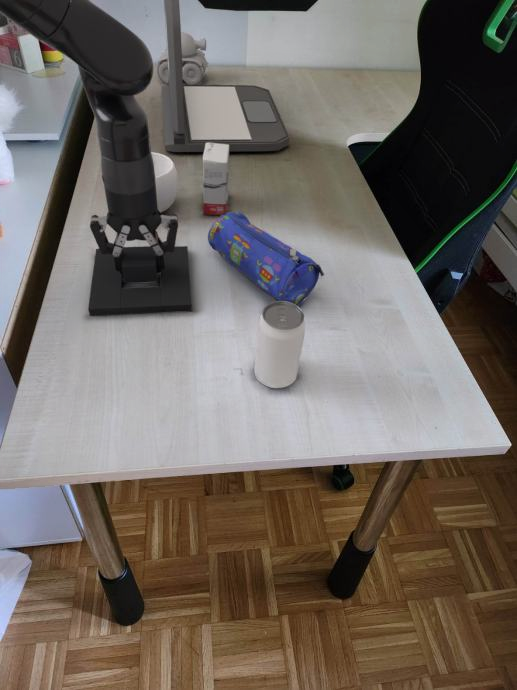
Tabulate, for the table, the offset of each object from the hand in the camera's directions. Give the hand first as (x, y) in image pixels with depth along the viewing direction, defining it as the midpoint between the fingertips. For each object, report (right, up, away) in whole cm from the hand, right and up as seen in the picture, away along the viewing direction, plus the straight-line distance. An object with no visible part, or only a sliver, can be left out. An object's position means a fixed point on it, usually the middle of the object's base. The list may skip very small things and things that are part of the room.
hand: (140, 270), depth 89 cm
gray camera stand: (+10, +47, +51) cm, 70 cm away
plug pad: (0, 0, 0) cm, 1 cm away
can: (+23, -17, -11) cm, 31 cm away
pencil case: (+21, -1, +5) cm, 21 cm away
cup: (-2, +15, +18) cm, 24 cm away
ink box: (+11, +17, +21) cm, 29 cm away
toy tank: (-3, +69, +71) cm, 99 cm away
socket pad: (0, -2, +2) cm, 3 cm away
